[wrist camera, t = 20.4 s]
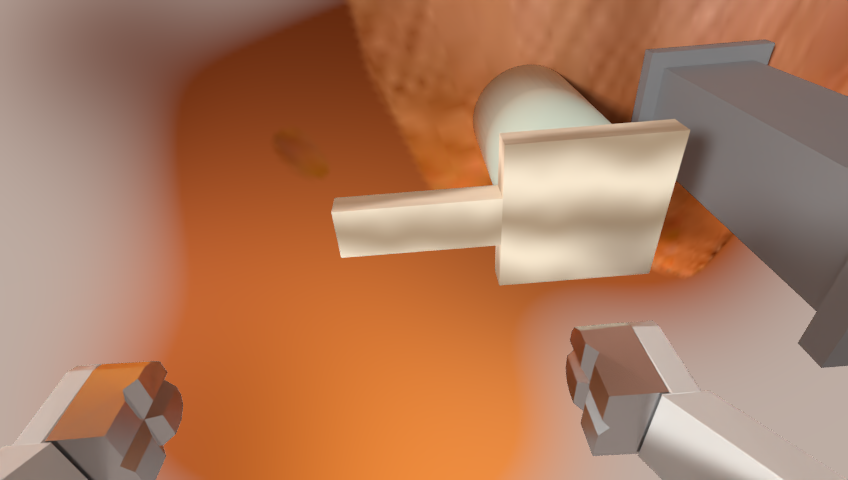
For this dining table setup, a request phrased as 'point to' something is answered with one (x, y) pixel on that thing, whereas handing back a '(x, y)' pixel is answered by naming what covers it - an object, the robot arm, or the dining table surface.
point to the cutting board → (539, 205)
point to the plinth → (764, 167)
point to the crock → (527, 108)
